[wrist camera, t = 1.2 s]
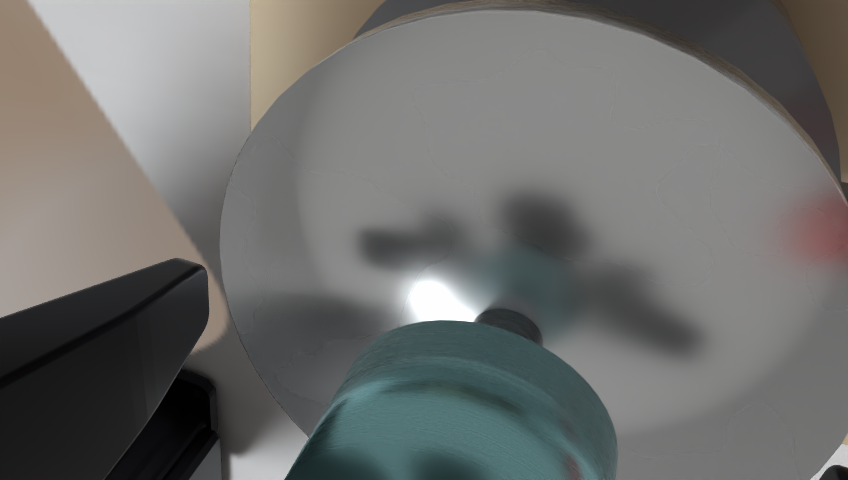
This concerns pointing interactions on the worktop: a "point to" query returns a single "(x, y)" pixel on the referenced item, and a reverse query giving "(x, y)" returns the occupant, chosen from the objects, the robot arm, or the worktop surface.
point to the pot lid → (540, 257)
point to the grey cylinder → (719, 50)
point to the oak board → (354, 3)
